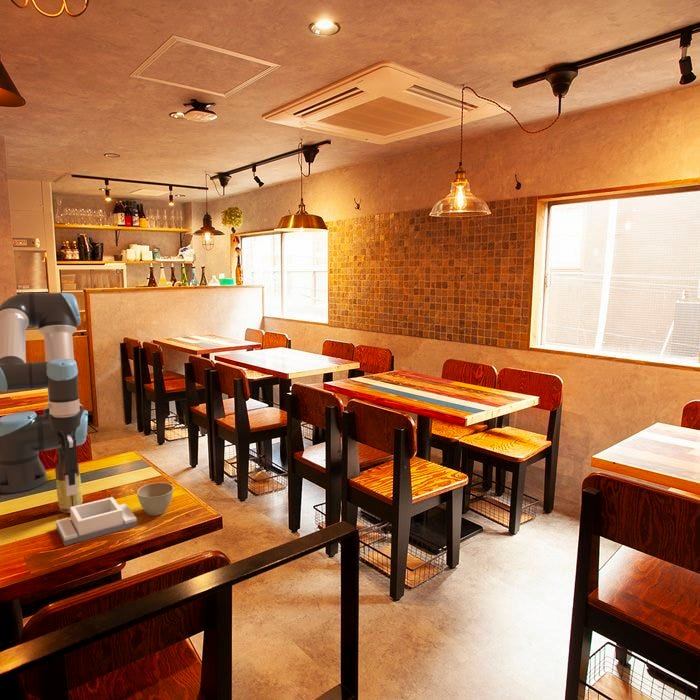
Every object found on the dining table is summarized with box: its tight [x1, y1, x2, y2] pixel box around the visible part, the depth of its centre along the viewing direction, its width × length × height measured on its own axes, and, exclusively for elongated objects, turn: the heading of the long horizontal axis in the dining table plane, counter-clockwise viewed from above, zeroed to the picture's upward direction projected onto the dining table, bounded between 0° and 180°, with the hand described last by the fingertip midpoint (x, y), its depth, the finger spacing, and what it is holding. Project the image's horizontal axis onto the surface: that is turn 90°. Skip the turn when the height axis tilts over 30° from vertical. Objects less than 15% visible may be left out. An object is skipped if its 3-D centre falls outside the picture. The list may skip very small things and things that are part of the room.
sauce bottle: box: [54, 444, 84, 514], centre depth 149 cm, size 7×6×20 cm
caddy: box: [55, 496, 138, 547], centre depth 142 cm, size 11×18×6 cm, turn 129°
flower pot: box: [136, 482, 174, 517], centre depth 151 cm, size 10×10×7 cm
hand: (69, 490), depth 149 cm, fingers closed on sauce bottle, 6 cm apart
